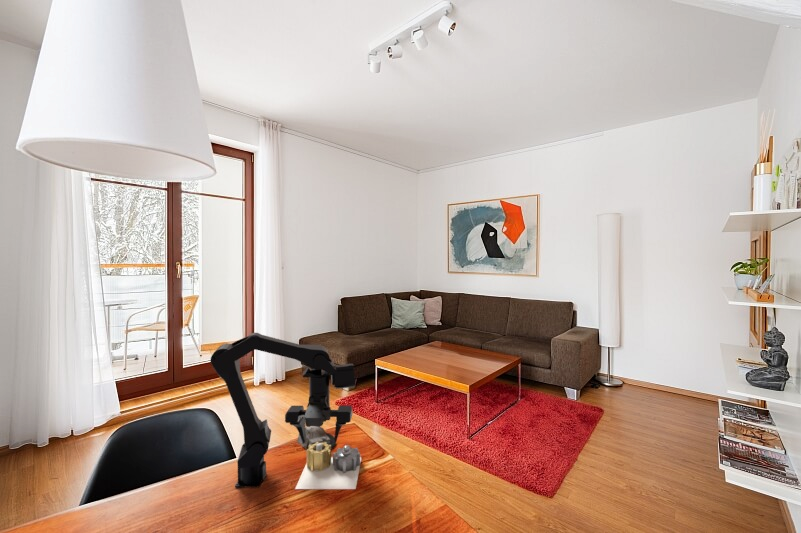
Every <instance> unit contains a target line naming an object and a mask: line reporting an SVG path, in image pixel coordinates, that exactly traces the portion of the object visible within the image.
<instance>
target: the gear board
mask: <svg viewBox="0 0 801 533" xmlns="http://www.w3.org/2000/svg"><path fill="white" fill-rule="evenodd" d="M321 450H322V444H321V443H319V444H317V445H316V451H321ZM361 462H362V457H361V456H360V464H361ZM360 469H361V465H360V466H357V467H356V470H355V471H353V470H351V471H346V473H343V471H339V470H337V471H335V470H334V466H333V456H331V462H330V467H329V468H328V467H326V468H324V469H323V471H320V470H314V471H311V468H310V467H308V468H307V462H306V463H305V466H304V468H303V470H302V472H301V475H300V476H299V479H298V482H297V483H296V486H295V488H294V490H356V488H357V485H358V484H357V483H358V478H359V473H360Z"/></svg>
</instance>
